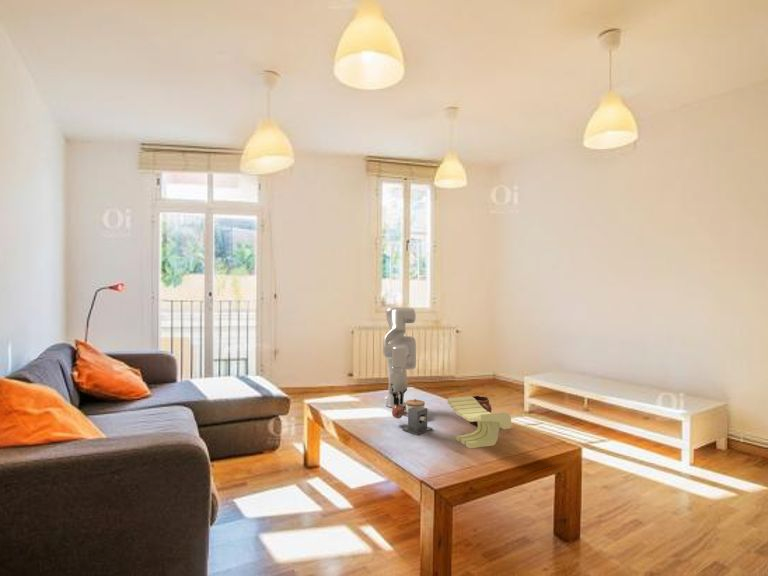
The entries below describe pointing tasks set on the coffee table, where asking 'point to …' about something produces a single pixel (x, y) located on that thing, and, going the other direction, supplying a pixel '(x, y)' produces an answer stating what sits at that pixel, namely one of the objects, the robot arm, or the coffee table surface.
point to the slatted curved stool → (479, 422)
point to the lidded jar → (414, 404)
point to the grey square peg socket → (417, 421)
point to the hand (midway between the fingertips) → (398, 403)
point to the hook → (402, 411)
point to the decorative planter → (484, 403)
